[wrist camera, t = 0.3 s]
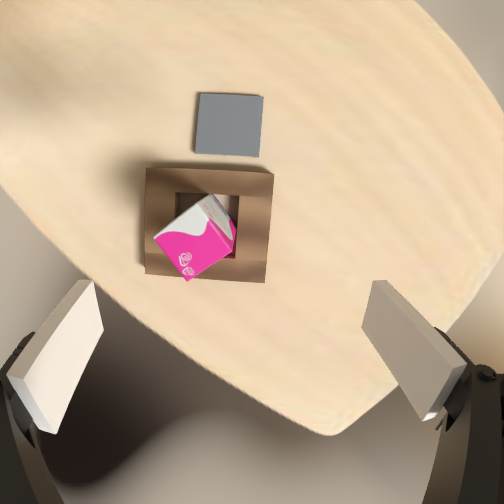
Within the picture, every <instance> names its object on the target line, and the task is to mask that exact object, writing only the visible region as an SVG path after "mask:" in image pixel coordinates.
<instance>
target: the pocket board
mask: <svg viewBox="0 0 504 504" xmlns="http://www.w3.org/2000/svg"><path fill="white" fill-rule="evenodd" d="M273 183H274V174H269V173H257V172H244V171H228V170H210V169H185V168H146V188H145V274H151V275H162V276H174V277H183V276H182V275H181V273H180V272H179V271H178V270H177V268H176V267H175V266H174V264H173V263H172V262H171V261H170V259H169V258H168V257H167V256H166V254H165V253H164V252H163V250H162V249H161V248H160V246H159V245H158V244H157V242H156V241H155V240H154V238H153V237H154V236H155V235H156V234H157V233H159V232H160V231H161V230H162V229H163V228H165V227H166V226H167V225H168V224H169V223H171V222H172V221H173V220H174V219H176V218H177V214H178V192H182V193H203V194H221V195H237V196H240V197H239V211H238V225H237V240H236V255H226V256H225V257H223V258H222V259H220V260H219V261H217V262H216V263H214V264H213V265H211V266H210V267H208V268H207V269H205V270H204V271H202V272H201V273H199V274H198V275H196V276H195V277H193V278H199V279H212V280H226V281H240V282H256V283H265V273H266V262H267V252H268V241H269V230H270V218H271V207H272V195H273Z"/></svg>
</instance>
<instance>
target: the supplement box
mask: <svg viewBox="0 0 504 504" xmlns="http://www.w3.org/2000/svg"><path fill="white" fill-rule="evenodd" d="M236 229H237V227H236V225H235V224H234V222H233V221H232V219H231V218H230V216H229V215H228V214H227V212H226V211H225V210H224V208H223V207H222V205H221V204H220V203H219V201H218V200H217V199H216V197H215V196H214V195H213V194H209V195H207V196H206V197H204V198H203V199H201V200H200V201H198V202H197V203H195V204H194V205H193V206H191V207H190V208H188V209H187V210H186V211H185V212H183V213H182V214H181V215H179V216H178V217H177V218H176V219H174V220H173V221H172V222H171V223H169V224H168V225H167V226H166V227H165V228H163V229H162V230H161V231H160V232H159V233H157V234H156V235H155V236H154V237H153V238H154V240H155V241H156V242H157V244H158V245H159V246H160V248H161V249H162V250H163V252H164V253H165V254H166V256H167V257H168V258H169V259H170V261H171V262H172V263H173V264H174V266H175V267H176V268H177V270H178V271H179V272H180V273H181V275H182V276H183V277H184V278H185V280H186V281H189V280H190V279H192V278H193V277H195V276H196V275H198V274H199V273H201V272H202V271H204V270H205V269H207V268H208V267H210V266H211V265H213V264H214V263H216V262H217V261H219V260H220V259H222V258H223V257H225V256H226V255H228V254H229V253H231V252H232V249H233V243H234V238H235V233H236Z"/></svg>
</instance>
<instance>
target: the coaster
mask: <svg viewBox="0 0 504 504" xmlns="http://www.w3.org/2000/svg"><path fill="white" fill-rule="evenodd" d="M263 98H264V97H261V96H248V95H231V94H200V103H199V113H198V123H197V135H196V147H195V154H214V155H233V156H248V157H259V148H260V135H261V123H262V110H263Z"/></svg>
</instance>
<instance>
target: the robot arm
mask: <svg viewBox="0 0 504 504" xmlns="http://www.w3.org/2000/svg"><path fill="white" fill-rule="evenodd" d="M361 328H362V329H363V331H364V332H365V334H366V335H367V337H368V338H369V340H370V341H371V343H372V344H373V346H374V347H375V349H376V350H377V352H378V353H379V355H380V356H381V358H382V359H383V361H384V362H385V364H386V365H387V367H388V368H389V370H390V371H391V373H392V374H393V376H394V377H395V379H396V381H397V382H398V384H399V385H400V387H401V388H402V390H403V392H404V393H405V395H406V396H407V398H408V399H409V401H410V403H411V404H412V406H413V407H414V409H415V411H416V412H417V414H418V416H419V417H420V419H421V420H422V421H425V420H427V419H430V418H433V417H435V416H437V415H438V413H439V412H440V410H441V409H442V407H443V406H444V407H445V409H446V410H447V412H446V413H445V415H444V416H443V418H442V419H441V421H440V422H439V424H438V425H437V427H436V429H435V430H438V429H439V427H440V426H441V425H442V429H441V434H440V439H439V443H438V448H437V452H436V457H435V461H434V465H433V469H432V472H431V476H430V480H429V483H428V486H427V490H426V493H425V496H424V499H423V502H422V504H504V374H497V373H496V372H495V371H494V370H493V369H492V368H490V367H488V366H486V365H480V364H479V365H474V364H473V363H472V362H471V361H470V360H469V358H468V357H467V356H466V355H465V354H464V353H463V352H462V351H461V350H460V349H459V348H458V347H456V344H455V343H454V342H453V341H451V339H450V338H449V337H448V336H447V335H446V334H445V333H444V332H442V331H441V330H439V329H438V328H436V327H433V326H432V325H431V324H430V323H429V322H428V321H427V320H426V319H425V318H424V317H423V316H422V315H421V314H420V313H419V312H418V311H417V310H416V309H415V308H414V307H413V306H412V305H411V304H410V303H409V302H408V301H407V300H406V299H405V298H404V297H403V296H402V295H401V294H400V293H399V292H398V291H397V290H396V289H395V288H394V287H393V286H392V285H391V284H390V283H389V282H388V281H387V280H375V281H373V283H372V288H371V292H370V296H369V300H368V304H367V308H366V312H365V316H364V320H363V324H362V327H361ZM103 330H104V329H103V326H102V321H101V317H100V313H99V309H98V304H97V299H96V294H95V290H94V284H93V280H78V281H77V283H76V284H75V285H74V286H73V287H72V288H71V289H70V291H69V292H68V293H67V294H66V295H65V297H64V298H63V299H62V300H61V301H60V303H59V304H58V305H57V306H56V307H55V309H54V310H53V311H52V313H51V314H50V315H49V316H48V318H47V319H46V320H45V321H44V323H43V324H42V325H41V327H40V328H39V329H38V330H37V332H31V333H30V334H29V335H27V336H26V337H24V338H23V339H22V341H21V342H20V343H19V345H18V346H17V348H16V349H15V350H14V352H13V354H12V355H11V356H10V357H9V358H8V360H7V361H6V363H5V364H4V365H3V367H2V368H1V370H0V504H64V502H63V500H62V498H61V496H60V494H59V492H58V490H57V488H56V486H55V484H54V482H53V480H52V478H51V475H50V473H49V471H48V469H47V466H46V464H45V462H44V459H43V457H42V455H41V452H40V449H39V447H38V444H37V441H36V439H35V436H34V434H33V431H32V429H31V428H30V424H31V422H32V420H33V421H34V422H35V423H36V425H37V426H38V428H39V429H40V430H43V431H46V432H50V433H53V434H56V433H57V431H58V428H59V426H60V423H61V421H62V418H63V416H64V413H65V411H66V409H67V406H68V404H69V402H70V399H71V397H72V395H73V392H74V390H75V388H76V386H77V383H78V381H79V379H80V377H81V375H82V373H83V370H84V368H85V366H86V364H87V362H88V360H89V358H90V356H91V354H92V352H93V350H94V348H95V346H96V344H97V342H98V340H99V338H100V336H101V334H102V332H103Z"/></svg>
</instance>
